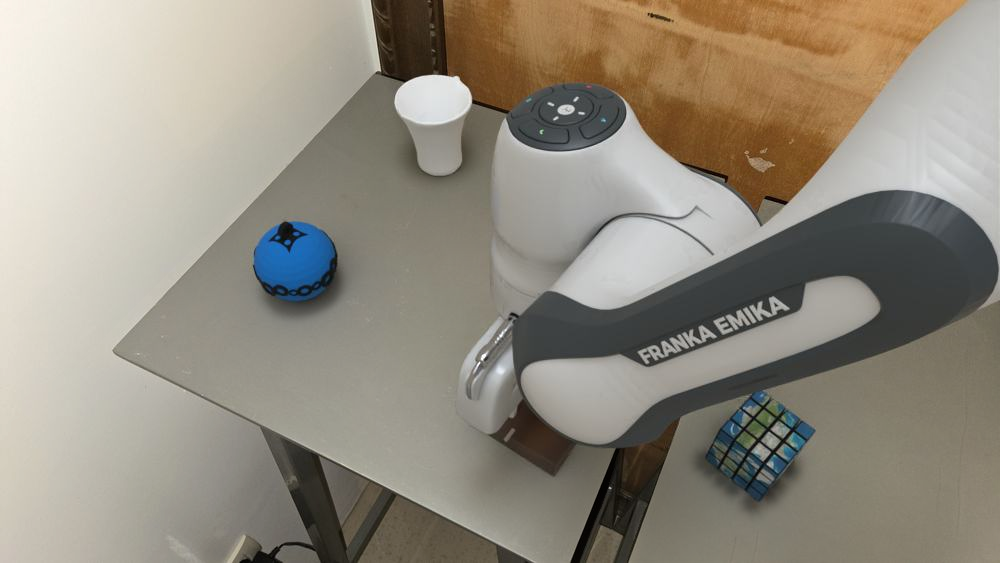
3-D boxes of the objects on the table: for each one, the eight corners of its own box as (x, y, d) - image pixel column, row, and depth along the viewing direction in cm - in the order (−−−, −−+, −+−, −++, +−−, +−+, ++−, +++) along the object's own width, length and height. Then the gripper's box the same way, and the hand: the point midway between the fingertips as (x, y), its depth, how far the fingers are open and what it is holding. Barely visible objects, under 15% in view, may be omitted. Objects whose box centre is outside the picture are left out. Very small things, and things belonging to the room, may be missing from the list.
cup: (490, 155, 95) (489, 91, 87) (440, 197, 90) (434, 133, 82) (437, 125, 98) (432, 60, 90) (387, 163, 94) (377, 99, 86)
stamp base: (616, 396, 74) (620, 382, 72) (555, 485, 68) (557, 474, 66) (521, 341, 78) (522, 326, 76) (456, 421, 72) (455, 408, 70)
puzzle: (795, 458, 70) (817, 429, 65) (758, 502, 68) (778, 475, 63) (741, 417, 73) (758, 386, 68) (704, 457, 70) (719, 428, 65)
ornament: (309, 330, 79) (288, 271, 71) (247, 295, 81) (220, 235, 73) (360, 275, 83) (345, 213, 75) (299, 243, 86) (279, 181, 78)
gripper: (505, 398, 50) (502, 479, 61) (649, 212, 60) (625, 310, 71) (430, 351, 52) (440, 438, 63) (582, 179, 62) (568, 280, 74)
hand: (539, 369), depth 67 cm, fingers open, 8 cm apart
